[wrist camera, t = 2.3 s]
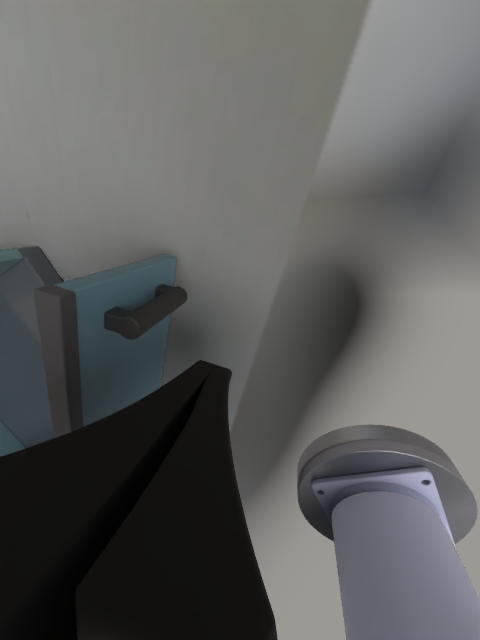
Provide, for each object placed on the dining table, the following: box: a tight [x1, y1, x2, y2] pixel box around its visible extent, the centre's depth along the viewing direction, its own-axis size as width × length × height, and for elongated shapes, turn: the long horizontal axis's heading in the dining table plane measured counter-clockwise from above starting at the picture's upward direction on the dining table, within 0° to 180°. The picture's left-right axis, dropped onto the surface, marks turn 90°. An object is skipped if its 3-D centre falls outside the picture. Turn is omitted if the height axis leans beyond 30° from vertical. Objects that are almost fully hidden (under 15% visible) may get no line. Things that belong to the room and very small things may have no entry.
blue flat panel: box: [33, 254, 187, 438], centre depth 11 cm, size 12×2×6 cm, turn 166°
